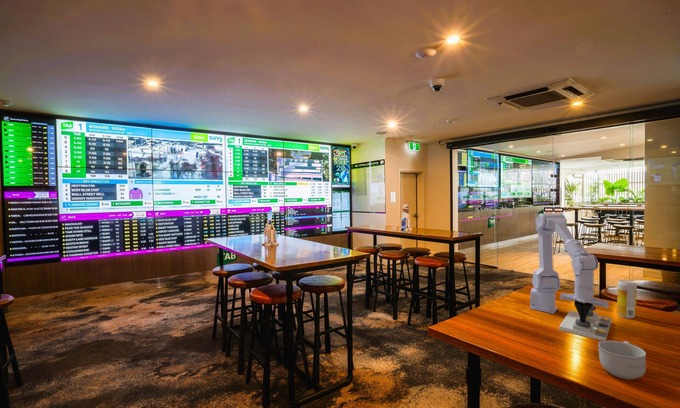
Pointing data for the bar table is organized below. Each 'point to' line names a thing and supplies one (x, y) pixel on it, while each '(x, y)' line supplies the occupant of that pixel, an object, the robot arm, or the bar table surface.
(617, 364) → the light grey bowl
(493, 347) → the bar table surface
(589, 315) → the button
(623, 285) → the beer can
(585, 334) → the board
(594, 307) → the button
